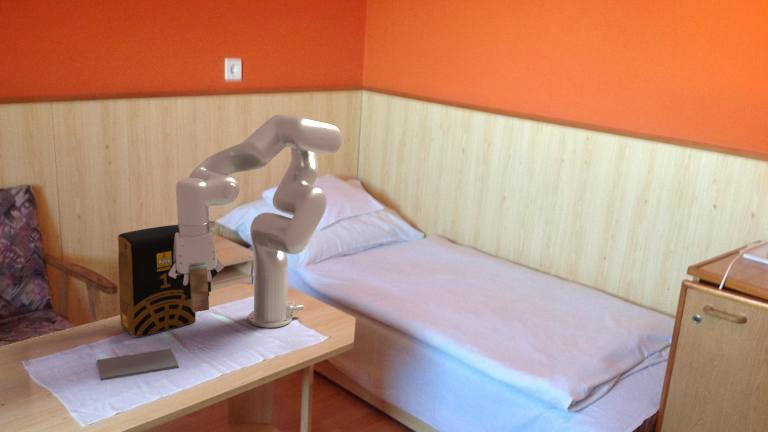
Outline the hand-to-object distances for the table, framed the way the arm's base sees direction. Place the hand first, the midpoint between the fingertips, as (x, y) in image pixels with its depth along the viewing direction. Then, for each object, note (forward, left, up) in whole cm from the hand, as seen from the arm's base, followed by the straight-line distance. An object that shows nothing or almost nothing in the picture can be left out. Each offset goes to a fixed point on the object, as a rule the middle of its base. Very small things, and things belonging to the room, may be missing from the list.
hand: (197, 295), depth 186 cm
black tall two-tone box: (+7, -19, -15) cm, 25 cm away
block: (0, 0, -3) cm, 3 cm away
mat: (+16, +3, -15) cm, 22 cm away
